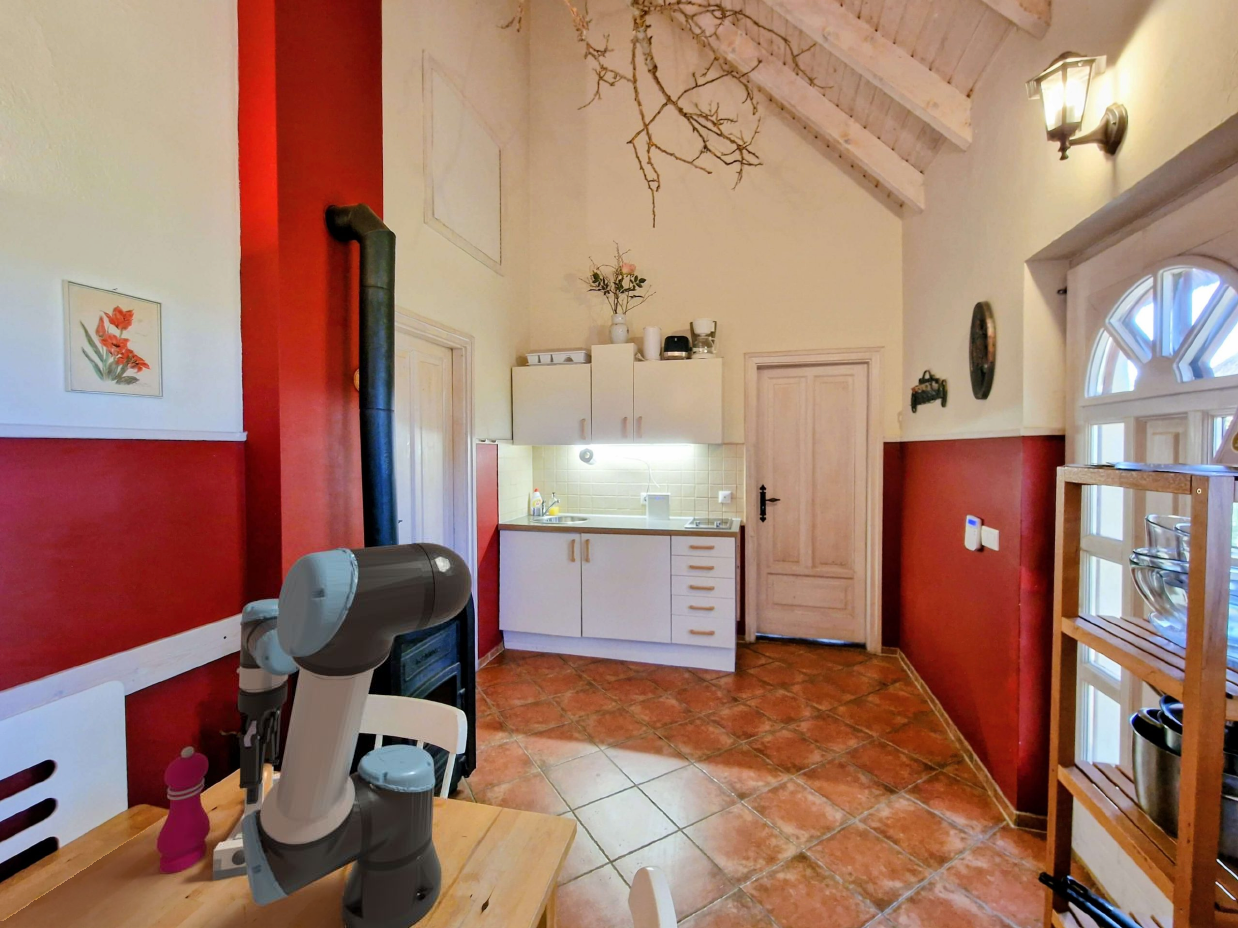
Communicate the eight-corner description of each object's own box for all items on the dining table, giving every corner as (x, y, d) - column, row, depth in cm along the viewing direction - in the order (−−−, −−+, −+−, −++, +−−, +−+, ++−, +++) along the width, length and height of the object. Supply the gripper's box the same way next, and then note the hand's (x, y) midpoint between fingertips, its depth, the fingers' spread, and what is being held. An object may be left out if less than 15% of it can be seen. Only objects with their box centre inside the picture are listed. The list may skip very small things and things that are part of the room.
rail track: (265, 872, 87) (267, 843, 87) (211, 881, 85) (212, 851, 85) (307, 791, 109) (308, 768, 109) (265, 797, 107) (265, 773, 107)
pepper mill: (177, 879, 85) (182, 761, 85) (144, 871, 86) (149, 755, 87) (219, 848, 92) (223, 739, 93) (187, 841, 94) (192, 734, 94)
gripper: (258, 668, 101) (253, 785, 100) (218, 706, 85) (212, 846, 84) (301, 665, 103) (296, 780, 102) (269, 701, 87) (263, 838, 86)
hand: (258, 809), depth 93 cm, fingers closed on carriage, 4 cm apart
